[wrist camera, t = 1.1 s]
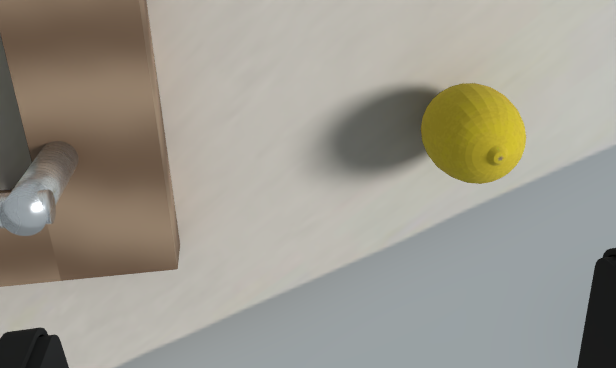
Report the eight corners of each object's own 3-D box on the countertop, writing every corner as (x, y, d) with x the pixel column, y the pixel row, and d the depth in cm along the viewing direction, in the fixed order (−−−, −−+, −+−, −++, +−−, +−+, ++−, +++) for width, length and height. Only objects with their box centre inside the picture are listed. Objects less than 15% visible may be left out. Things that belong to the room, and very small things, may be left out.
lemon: (410, 159, 39) (453, 215, 32) (401, 79, 37) (446, 120, 30) (489, 141, 40) (550, 192, 32) (486, 61, 37) (551, 97, 30)
